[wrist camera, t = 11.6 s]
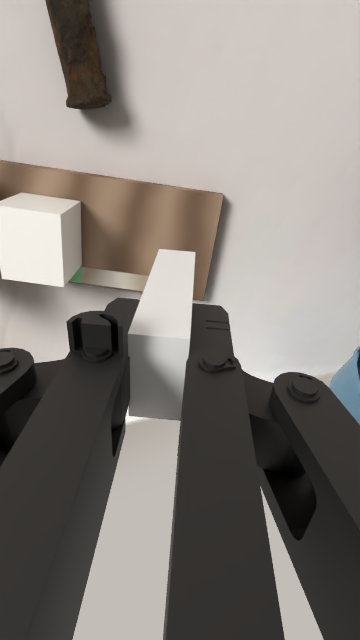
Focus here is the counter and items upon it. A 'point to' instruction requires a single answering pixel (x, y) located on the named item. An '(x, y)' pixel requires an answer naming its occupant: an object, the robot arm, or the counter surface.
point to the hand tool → (78, 53)
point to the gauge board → (125, 222)
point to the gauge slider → (40, 239)
